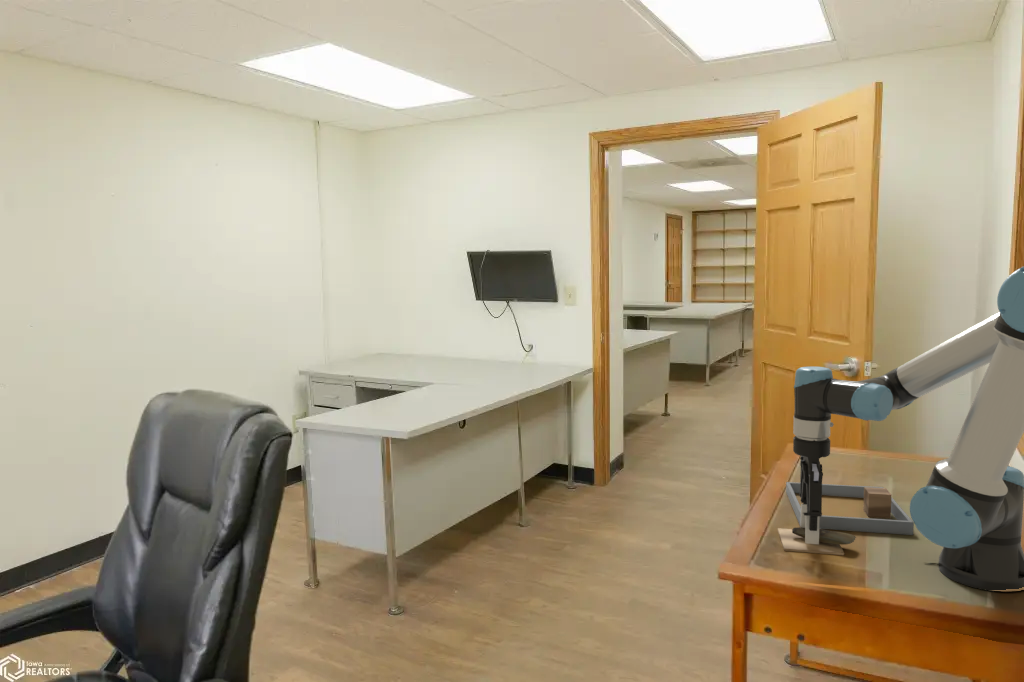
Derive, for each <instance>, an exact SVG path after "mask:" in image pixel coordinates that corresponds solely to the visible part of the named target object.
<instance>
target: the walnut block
mask: <svg viewBox="0 0 1024 682" xmlns="http://www.w3.org/2000/svg"><path fill="white" fill-rule="evenodd" d="M891 497H892V494H891V493H890V491H889V490H888V489H887V488H885V487H883V488H870V487H864V498H863V507H862V509H863V512H864V513H865V515H866V516H867V518H875V519H891V518H892V517H891V516H892V513H891Z"/></svg>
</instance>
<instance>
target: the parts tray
mask: <svg viewBox="0 0 1024 682" xmlns="http://www.w3.org/2000/svg"><path fill="white" fill-rule="evenodd" d="M864 487H870V488H884V487H883V486H870V485H869V486H868V485H867V486H866V485H849V484H848V485H847V484H834V483H833V484H832V483H831V484H830V483H822V496H830V497H845V498H846V497H847V498H860V499H864ZM785 493H786V496H787V497H788V500H789V502H790V505H791V507H792V510H793V512H794V515H795V517H796V520H797V523H798V525H799V527H801V504H800V502H799V501H798V500H799V499H798V497H797V496H796V494H800V482H797V481H796V482H794V481H786V483H785ZM891 515H893V517H894V518H895V519H888V518H873V517H854V516H838V515H825V514H822V516H820V519H819V529H823V530H832V531H835V530H836V531H852V532H861V533H863V532H865V533H876V534H877V533H878V534H881V533H882V534H894V535H904V536H905V535H908V536H914V527H915V524H914V521H913V520H912V518H911V516H910V517H909V515H908V514H907V513H906V512H905V511H904V509H903V508H902V507H901V506H900V505H899V504H898V503H897V502H896V500H895V499H894V498H893V497H892V496H891Z"/></svg>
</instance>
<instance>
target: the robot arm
mask: <svg viewBox="0 0 1024 682" xmlns="http://www.w3.org/2000/svg"><path fill="white" fill-rule="evenodd" d="M996 303H997V308H998V312H996V313H994V314H993V315H991V316H989V317H988V318H985V319H983V320H982V321H980V322H978V323H976V324H974V325H973V326H971V327H969V328H967V329H965V330H964V331H962V332H960V333H958V334H955V336H953V337H950V338H949V339H947V340H946V341H943V342H941V343H939V344H938V345H936V346H934V347H932V348H930V349H929V350H927V351H924V352H923V353H922V354H919V355H918V356H916V357H914V358H912V359H910V360H909V361H907V362H904V363H903V364H902V365H899V366H897V367H896V368H894V369H892V370H890V371H889V372H886V373H885V374H883V375H881V376H877V377H873V378H872V377H871V378H867V379H861V380H858V381H855V380H847V379H837V378H834V376H833V371H832V369H831V368H829V367H825V366H813V365H812V366H802V367H799V368H797V369H796V371H795V374H794V375H795V376H794V385H793V389H794V391H793V393H794V394H793V395H794V413H793V423H792V425H793V430H792V431H793V432H792V433H793V435H794V437H793V438H792V440H793V445H792V449H793V451H792V452H793V453H794V454H796V455H797V456H800V457H799V459H800V463H799V465H800V475H799V476H800V478H799V480H800V481H799V483H800V493H798V495H799V498H800V502H801V504H800V506H801V528H805V543H806V544H819V519H820V516H822V515H823V512H822V511H823V510H822V507H823V506H822V503H823V500H822V499H823V495H822V484H823V476H824V473H823V464H821V461H820V459H821V458H826V457H827V458H828V457H829V456H830V454H831V439H830V438H829V437H831V428H833V427H834V425H835V424H834V423H833V422H831V419H832V415H838V416H843V417H848V418H855V419H858V420H859V419H860V420H862V421H875V422H881V421H884V420H886V419H887V418H888V416H890V414H891V412H892V410H900V409H902V408H905V407H907V406H909V405H911V404H913V402H915V401H916V400H918V399H919V398H921V397H923V396H925V395H927V394H929V393H931V392H933V391H935V390H937V389H939V388H941V387H943V386H945V385H947V384H949V383H951V382H953V381H954V382H955V381H956V380H958V379H960V378H962V377H964V376H966V375H968V374H969V373H971V372H974V371H976V370H978V369H980V368H982V367H984V366H986V365H988V366H987V369H986V372H985V373H984V376H983V378H982V380H981V383H980V385H979V386H978V389H977V391H976V394H975V397H974V399H973V401H972V403H971V406H970V408H969V410H968V412H967V415H966V418H965V420H964V422H963V424H962V427H961V429H960V431H959V433H958V436H957V437H956V440H955V443H954V444H953V448H952V450H951V452H950V454H949V455H948V457H947V458H944V459H941V460H938V461H936V463H935V465H934V467H933V470H932V471H931V474H930V476H929V479H928V481H927V483H926V485H925V486H923V487H921V488H919V489H918V490H916V492H915V493H914V495H913V496H912V498H911V499H910V502H909V514H910V519H911V520H912V521H913V522H914V526H915V528H916V529H917V531H919V533H920V534H921V535H922V536H924V538H926V539H928V540H929V542H931V543H933V544H935V545H937V546H940V547H942V550H941V551H940V554H939V557H938V570H939V571H940V573H941V574H942V575H943V576H945V577H947V578H948V579H950V580H952V581H954V582H956V583H959V584H961V585H964V586H967V587H971V588H973V589H977V588H979V589H978V590H982V589H986V590H985V591H987V590H1006V589H1019V588H1022V587H1024V550H1023V547H1022V531H1023V518H1024V517H1023V515H1024V514H1023V513H1024V472H1023V471H1021V469H1019V468H1016V467H1014V466H1009V465H1010V463H1011V461H1012V459H1013V456H1014V454H1015V452H1016V450H1017V448H1018V445H1019V443H1020V441H1021V439H1022V436H1023V435H1024V266H1021V267H1020V268H1018V269H1016V270H1014V272H1012V273H1011V274H1009V275H1008V276H1007V277H1006V278H1005V279H1004V281H1003V283H1002V284H1001V286H1000V287H999V290H998V293H997V301H996ZM928 540H927V541H928Z"/></svg>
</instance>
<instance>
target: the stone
mask: <svg viewBox="0 0 1024 682" xmlns="http://www.w3.org/2000/svg"><path fill="white" fill-rule="evenodd" d="M791 529H792V533H794V534H796V535H798V536H801V537H804V538H805V528H801V527H800V526H799V527H793V528H791ZM856 538H857V536H856V535H854V534H850V533H848V532H841V531H837V530H836V531H835V530H829V529H819V542H823V543H828V544H836V545H840V546H841V545H842V546H843V545H845V546H846V545H850V544H853V543H854V542H855V540H856Z"/></svg>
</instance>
